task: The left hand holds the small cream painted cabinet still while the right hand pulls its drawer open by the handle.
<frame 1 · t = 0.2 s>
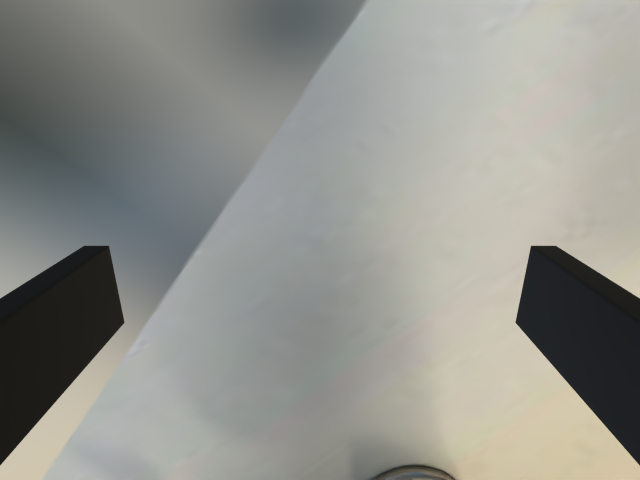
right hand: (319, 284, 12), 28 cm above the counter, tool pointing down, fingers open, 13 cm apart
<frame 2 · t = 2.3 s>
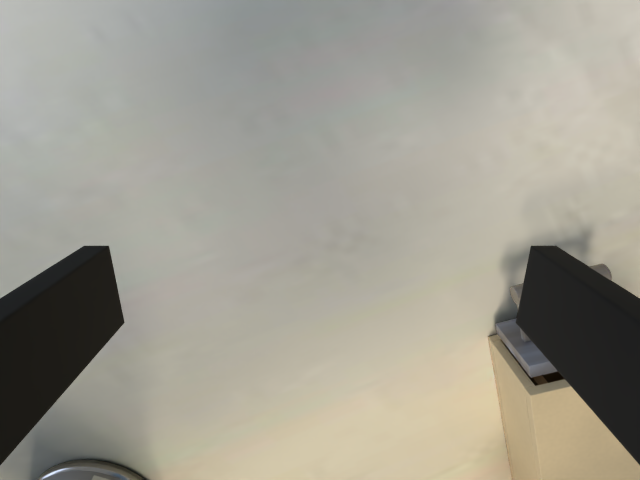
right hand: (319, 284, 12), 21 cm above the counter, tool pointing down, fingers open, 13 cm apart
drawer: (568, 393, 36), point 4 cm above the counter, slide at 0.8 cm
cabinet: (548, 404, 41), on the counter
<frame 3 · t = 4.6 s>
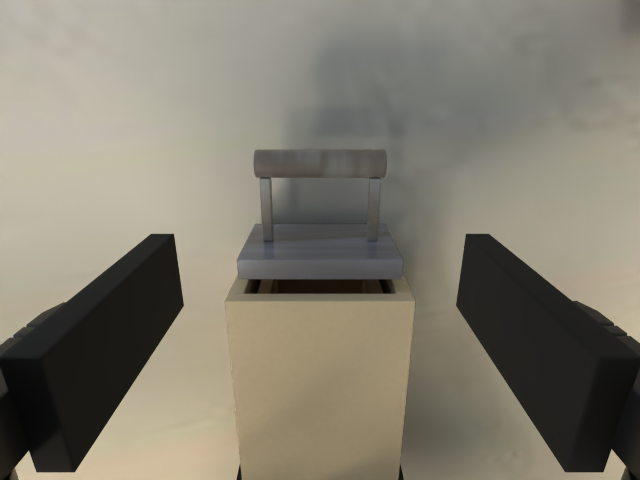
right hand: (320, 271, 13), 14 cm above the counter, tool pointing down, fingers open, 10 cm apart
drawer: (320, 338, 26), point 4 cm above the counter, slide at 0.8 cm
cabinet: (320, 363, 32), on the counter, touching left hand
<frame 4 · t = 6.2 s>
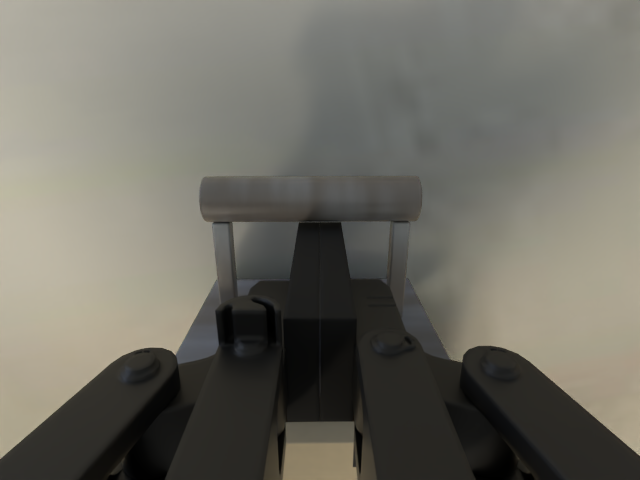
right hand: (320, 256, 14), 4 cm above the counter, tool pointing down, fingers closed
drawer: (313, 450, 17), point 4 cm above the counter, slide at 0.9 cm
cabinet: (314, 460, 23), on the counter, touching left hand
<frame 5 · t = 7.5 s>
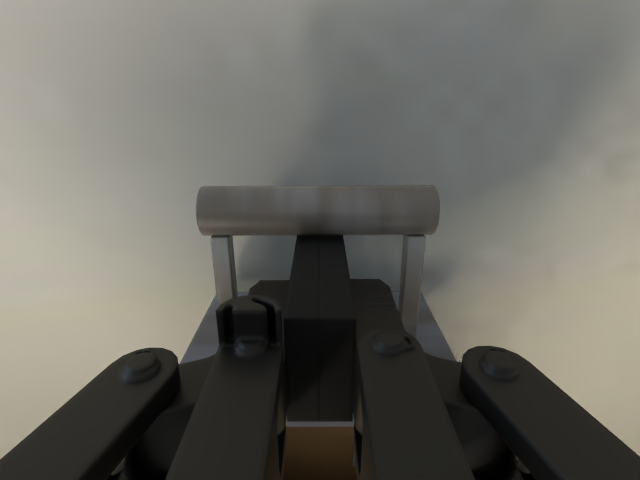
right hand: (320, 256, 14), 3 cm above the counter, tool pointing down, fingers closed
drawer: (319, 474, 16), point 4 cm above the counter, slide at 6.6 cm, touching right hand
when the left hand's fingers open (3 cm above the counter, at t = 9.4 s): cabinet stays where it is, on the counter.
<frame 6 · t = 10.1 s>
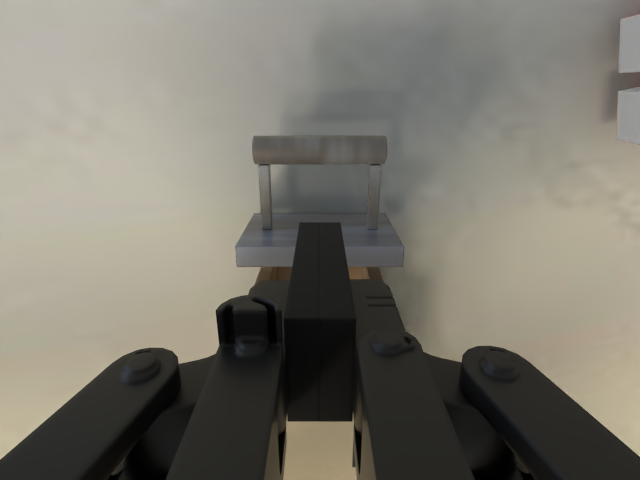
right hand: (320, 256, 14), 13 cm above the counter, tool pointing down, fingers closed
drawer: (319, 328, 26), point 4 cm above the counter, slide at 6.7 cm
cabinet: (319, 413, 33), on the counter
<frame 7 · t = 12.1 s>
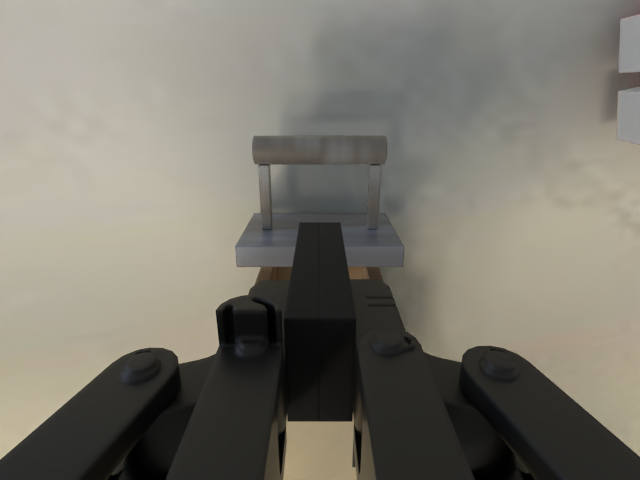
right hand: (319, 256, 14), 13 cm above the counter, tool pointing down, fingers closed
drawer: (319, 328, 26), point 4 cm above the counter, slide at 6.7 cm
cabinet: (319, 413, 33), on the counter
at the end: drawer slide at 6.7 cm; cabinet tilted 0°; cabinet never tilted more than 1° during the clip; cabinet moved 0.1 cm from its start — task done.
